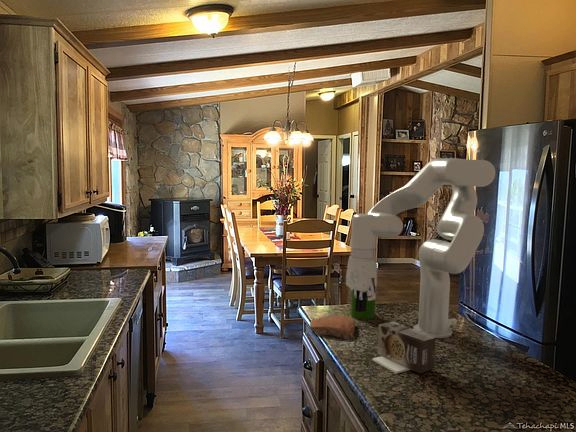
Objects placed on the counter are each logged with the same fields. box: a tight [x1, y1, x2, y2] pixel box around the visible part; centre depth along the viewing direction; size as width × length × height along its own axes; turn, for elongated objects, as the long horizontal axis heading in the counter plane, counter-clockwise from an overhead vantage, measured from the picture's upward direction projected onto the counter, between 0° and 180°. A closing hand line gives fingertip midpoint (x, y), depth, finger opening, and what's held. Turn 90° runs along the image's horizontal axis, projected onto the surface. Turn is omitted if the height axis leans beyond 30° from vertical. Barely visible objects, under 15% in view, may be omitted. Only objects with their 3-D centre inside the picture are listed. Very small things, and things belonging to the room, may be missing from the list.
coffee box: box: [377, 321, 437, 374], centre depth 138 cm, size 9×6×16 cm
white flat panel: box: [372, 355, 412, 374], centre depth 138 cm, size 12×10×1 cm
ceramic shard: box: [309, 314, 356, 340], centre depth 165 cm, size 15×6×15 cm
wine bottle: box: [350, 263, 378, 321], centre depth 180 cm, size 9×9×32 cm
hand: (360, 310), depth 153 cm, fingers closed
